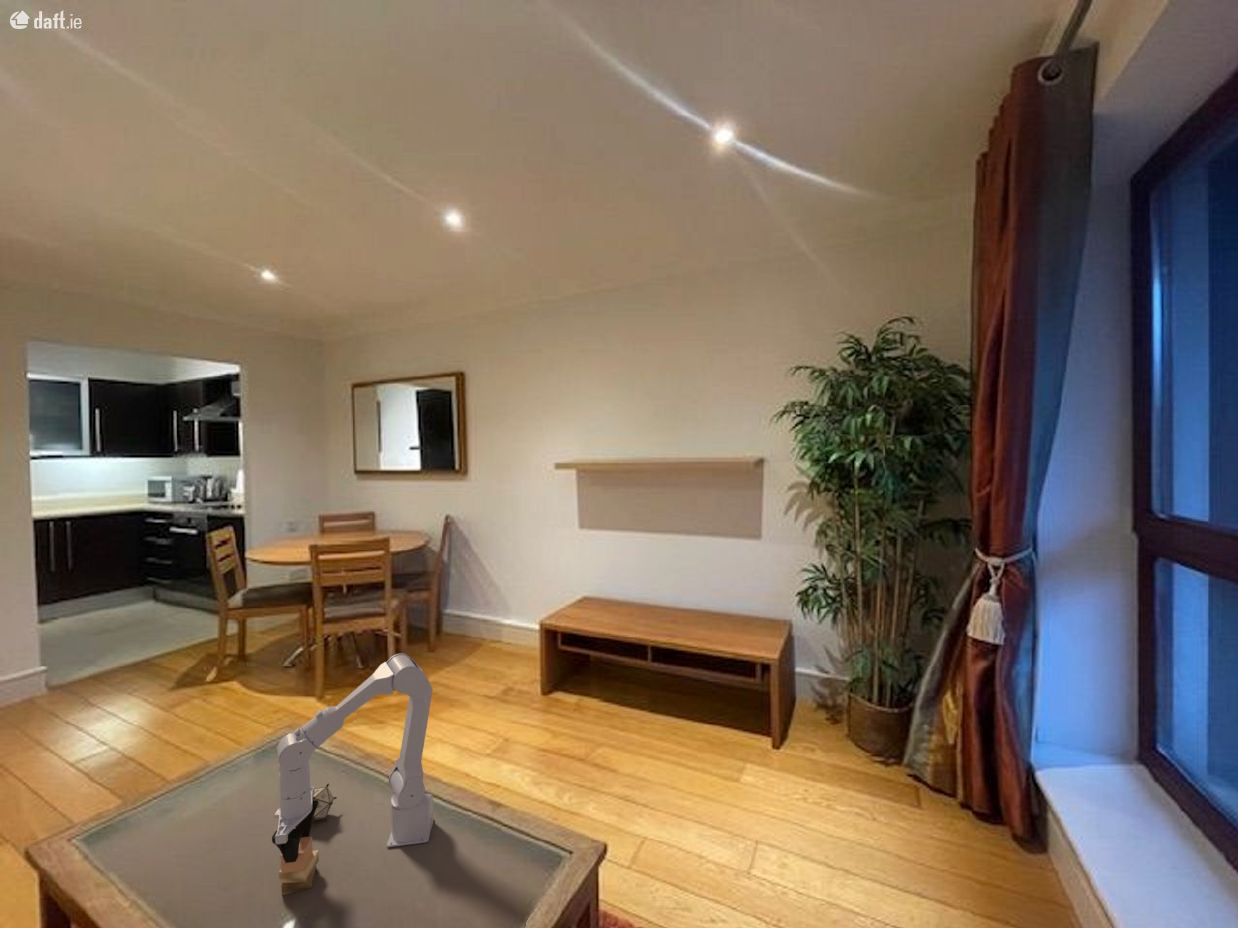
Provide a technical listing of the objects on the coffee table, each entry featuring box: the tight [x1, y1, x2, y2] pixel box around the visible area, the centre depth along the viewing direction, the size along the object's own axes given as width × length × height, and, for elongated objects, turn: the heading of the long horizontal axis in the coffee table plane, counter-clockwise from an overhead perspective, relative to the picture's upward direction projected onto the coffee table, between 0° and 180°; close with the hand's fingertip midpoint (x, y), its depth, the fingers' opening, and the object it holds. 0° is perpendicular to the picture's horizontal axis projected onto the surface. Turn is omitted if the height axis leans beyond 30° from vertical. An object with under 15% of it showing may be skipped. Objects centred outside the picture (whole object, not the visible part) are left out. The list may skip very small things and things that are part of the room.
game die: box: [312, 782, 338, 821], centre depth 132 cm, size 9×8×10 cm
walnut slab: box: [281, 865, 317, 896], centre depth 114 cm, size 6×6×2 cm
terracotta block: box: [280, 836, 314, 873], centre depth 113 cm, size 4×4×4 cm
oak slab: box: [278, 849, 320, 884], centre depth 114 cm, size 6×6×2 cm
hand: (297, 849), depth 114 cm, fingers open, 6 cm apart
